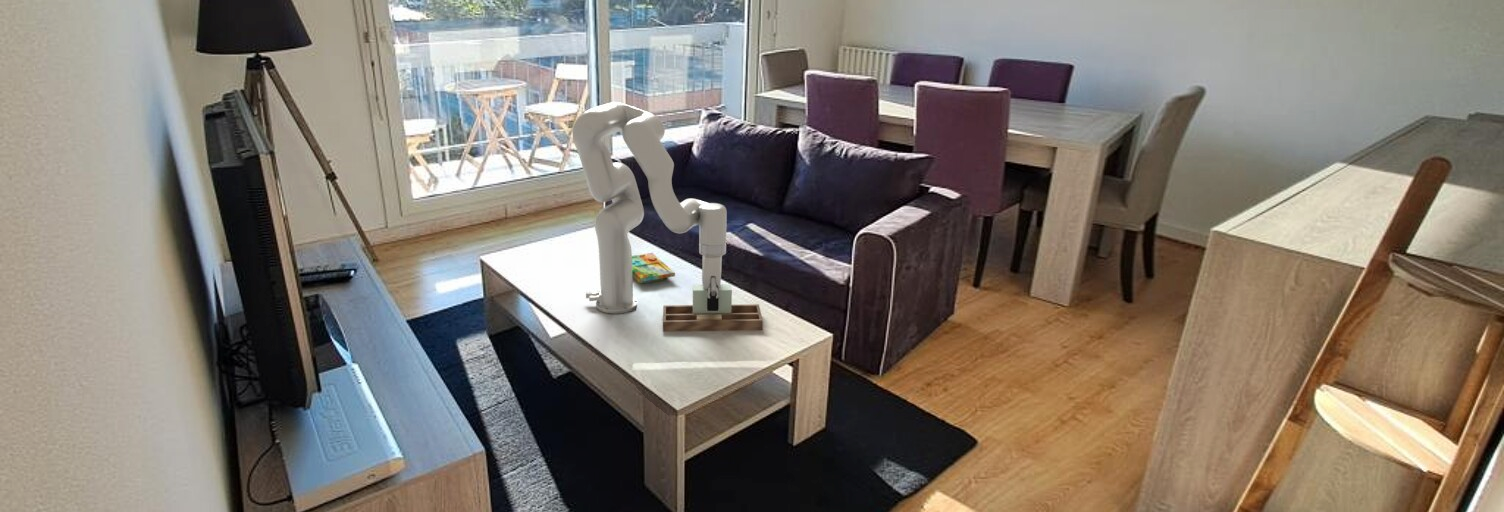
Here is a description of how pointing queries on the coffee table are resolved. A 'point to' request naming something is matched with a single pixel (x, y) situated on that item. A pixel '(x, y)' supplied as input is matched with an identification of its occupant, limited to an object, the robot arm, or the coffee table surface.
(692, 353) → the coffee table surface
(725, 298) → the pale green block
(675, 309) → the tray
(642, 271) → the puzzle game
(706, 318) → the offcut upper
